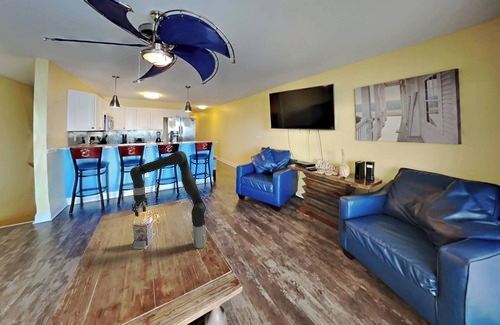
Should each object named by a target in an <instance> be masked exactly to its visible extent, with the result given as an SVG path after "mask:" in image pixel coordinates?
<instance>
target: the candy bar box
mask: <svg viewBox="0 0 500 325" xmlns="http://www.w3.org/2000/svg"><path fill="white" fill-rule="evenodd" d="M151 226H152V225H151V222H143V221H142V222H141V221H136V222H135V223H133V224H132V231H133V241H146V245H147V247H149V246H150V245H151V244H152V243H151V236H152V230H151Z"/></svg>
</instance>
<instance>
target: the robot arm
mask: <svg viewBox="0 0 500 325" xmlns="http://www.w3.org/2000/svg"><path fill="white" fill-rule="evenodd" d="M175 165H178V169H179V171H180V179H181V184H182V187H183V189H184V191H185V193H186V194H187V195H188V196H189V198H190V199H191V201H192V204H193V207H192V209H191V223H192V235H193V236H192V244H193V246H192V247H193V248H195V249H202V248H203V249H204V248H206V247H205V246H206V245H207V232H206V219H205V213H206V209H207V207H206V204H205V202H204V200H203V198H202V196H201V193H200V191H199V188H198V186H197V182H196V180H195V177H194V174H193V172H192V169H191V168H190V164H189V161H188V156H187V154H186V152H185V151H183V150H179V151H174V152H173V153H171V154H170V155H168V156H165V157H163V158H160V159H156V160H152V161H149V162H146V163H144V164H141V165H138V166H137V165H136V166H134V167H132V168H131V169H130V170H129V175H130V178H131V181H132V194H133V201H135V202H134V203H131V208H132V209H131V211H132V213H133V212H134V216H135V217H139V216H140V214H139V210H140V209H141V207H142V209H141V210H142V212H144V213H145V212H147V209H146V207H147V206H148V197H146V189H145V181H144V178H143V179H142V177H141V176H143V175H145V174H148V173H151V172H156V171H157V170H161V169H162V168H166V167H169V166H175Z"/></svg>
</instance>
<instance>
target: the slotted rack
mask: <svg viewBox="0 0 500 325" xmlns="http://www.w3.org/2000/svg"><path fill="white" fill-rule="evenodd" d="M152 238H153V236H152V235H151V243H150V244H152V243H153V239H152ZM146 248H148V246H147V245H146V241H134V240H133V241H132V249H138V250H140V249H141V250H146Z"/></svg>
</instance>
